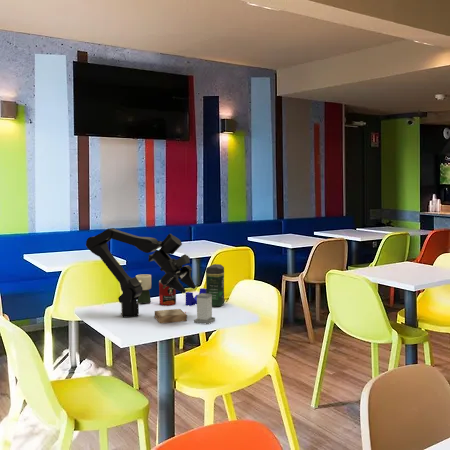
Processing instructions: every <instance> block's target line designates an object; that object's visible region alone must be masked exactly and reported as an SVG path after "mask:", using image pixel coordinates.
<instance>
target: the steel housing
mask: <svg viewBox="0 0 450 450" xmlns="http://www.w3.org/2000/svg"><path fill="white" fill-rule="evenodd" d="M198 294H199V293H198ZM198 294H196V295H197V304H196V318H195V319H193V324H200V323H206V324H205V325H210V324H211V322H212V323H214V322H215V321H216V317H214V316H213V307H212V294H205V293H201V294H199V295H198ZM209 323H210V324H209Z"/></svg>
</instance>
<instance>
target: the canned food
mask: <svg viewBox="0 0 450 450" xmlns="http://www.w3.org/2000/svg"><path fill="white" fill-rule="evenodd" d="M167 284H168V283H167ZM158 292H159V293H158V297H159V299H158V300H159V305H160V306H163V305H164V307H165V306H166V307H168V306H174V305H176V303H177V290H175V289H173V288H170V287H168V286H166V285H164V286H163V285H162V283H161V280H159V281H158Z"/></svg>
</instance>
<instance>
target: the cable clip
mask: <svg viewBox="0 0 450 450" xmlns="http://www.w3.org/2000/svg"><path fill="white" fill-rule="evenodd" d="M201 293H205V294H206V288H203V287H202V288H199V293H197V294H196V295H195V296H194V293H193V292H190V291H186V292H185V306H188V305H189V306H190V307H192V306H195V304H196V305H197V295H199V294H201Z"/></svg>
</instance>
